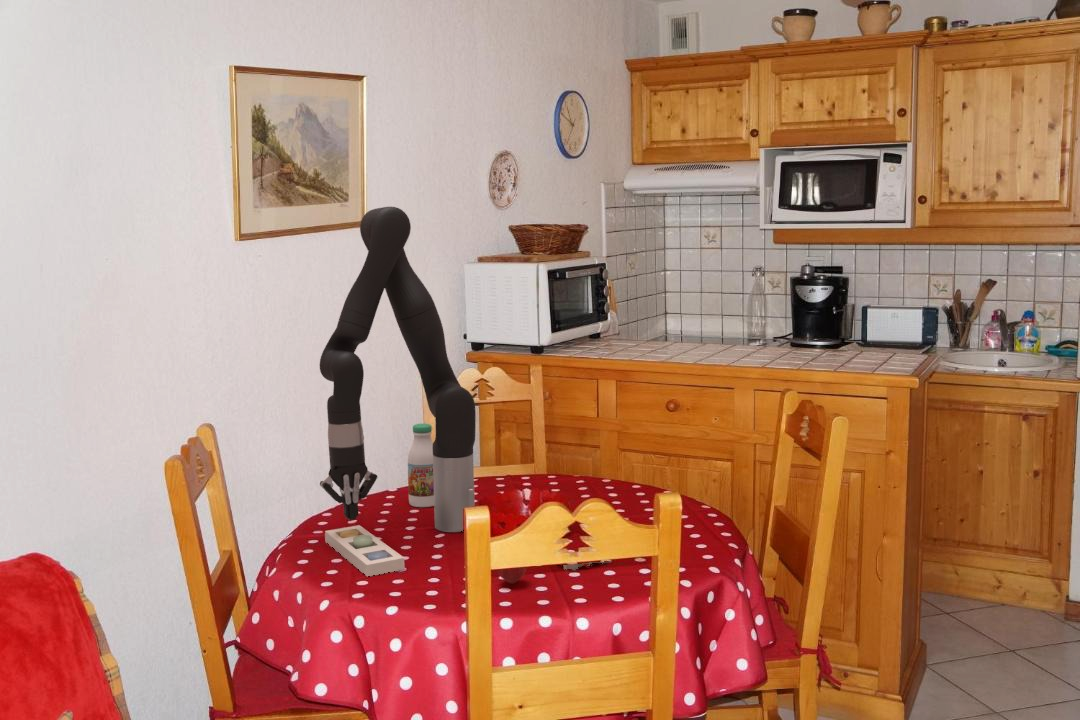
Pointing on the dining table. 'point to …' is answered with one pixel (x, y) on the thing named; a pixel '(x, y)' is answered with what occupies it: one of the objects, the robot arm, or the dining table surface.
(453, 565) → the dining table surface
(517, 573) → the onion
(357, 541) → the sage button
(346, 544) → the button panel
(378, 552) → the blue button
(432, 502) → the milk bottle
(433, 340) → the robot arm
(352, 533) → the ochre button
